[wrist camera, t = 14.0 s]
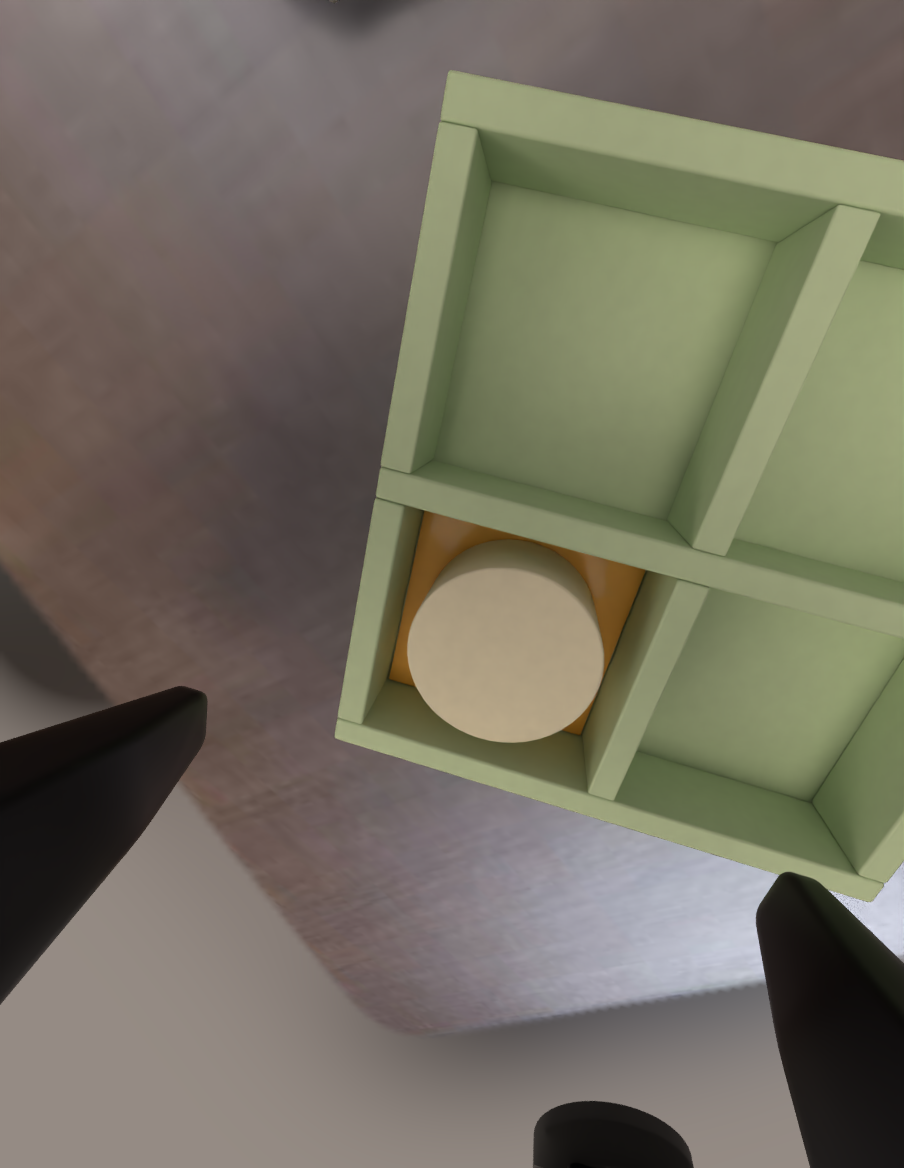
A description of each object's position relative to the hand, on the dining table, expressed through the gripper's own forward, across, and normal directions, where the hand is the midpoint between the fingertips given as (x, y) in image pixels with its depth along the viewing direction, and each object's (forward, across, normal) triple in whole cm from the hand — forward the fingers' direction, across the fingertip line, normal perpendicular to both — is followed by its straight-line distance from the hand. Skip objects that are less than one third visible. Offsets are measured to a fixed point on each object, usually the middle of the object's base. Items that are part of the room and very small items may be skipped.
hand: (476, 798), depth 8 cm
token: (+7, 0, 0) cm, 7 cm away
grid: (+8, -3, -3) cm, 9 cm away
